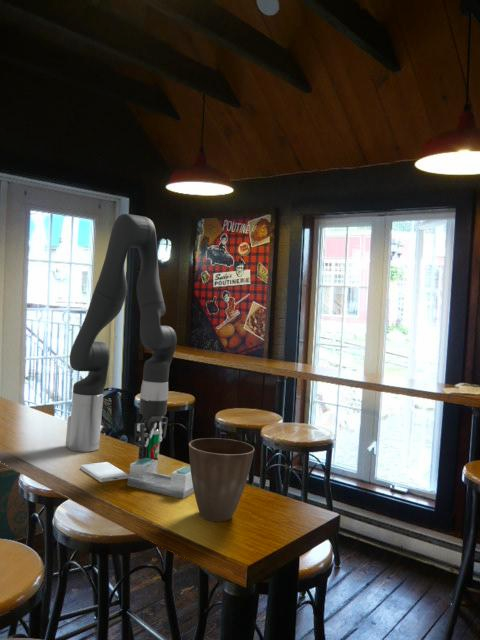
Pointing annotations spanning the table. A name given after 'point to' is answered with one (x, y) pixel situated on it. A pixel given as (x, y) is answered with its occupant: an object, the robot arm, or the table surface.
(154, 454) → the soda can
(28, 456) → the table surface
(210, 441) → the plant pot
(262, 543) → the table surface
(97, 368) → the robot arm
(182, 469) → the grey u-shaped block
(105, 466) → the hard drive
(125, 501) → the table surface
